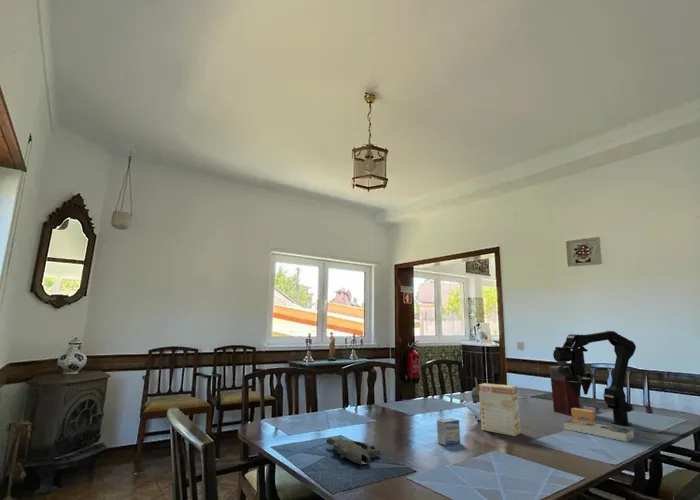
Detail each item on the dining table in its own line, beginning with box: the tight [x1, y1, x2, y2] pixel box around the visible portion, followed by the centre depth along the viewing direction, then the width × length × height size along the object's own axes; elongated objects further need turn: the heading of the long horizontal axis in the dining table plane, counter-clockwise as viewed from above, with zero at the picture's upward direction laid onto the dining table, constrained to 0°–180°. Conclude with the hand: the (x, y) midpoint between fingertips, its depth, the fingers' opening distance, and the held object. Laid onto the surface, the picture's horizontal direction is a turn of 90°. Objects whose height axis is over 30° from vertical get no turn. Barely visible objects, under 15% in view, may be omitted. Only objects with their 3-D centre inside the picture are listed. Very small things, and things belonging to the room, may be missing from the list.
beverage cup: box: [470, 377, 480, 420], centre depth 192 cm, size 7×7×20 cm
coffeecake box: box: [478, 382, 522, 437], centre depth 172 cm, size 15×7×20 cm, turn 47°
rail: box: [563, 418, 635, 443], centre depth 167 cm, size 8×24×3 cm, turn 37°
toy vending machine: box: [549, 361, 581, 416], centre depth 208 cm, size 9×11×28 cm
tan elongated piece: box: [325, 437, 381, 465], centre depth 142 cm, size 5×25×15 cm
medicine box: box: [436, 418, 461, 447], centre depth 155 cm, size 8×4×9 cm, turn 117°
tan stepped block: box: [570, 408, 597, 423], centre depth 181 cm, size 4×9×6 cm, turn 37°
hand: (581, 395), depth 183 cm, fingers open, 9 cm apart
